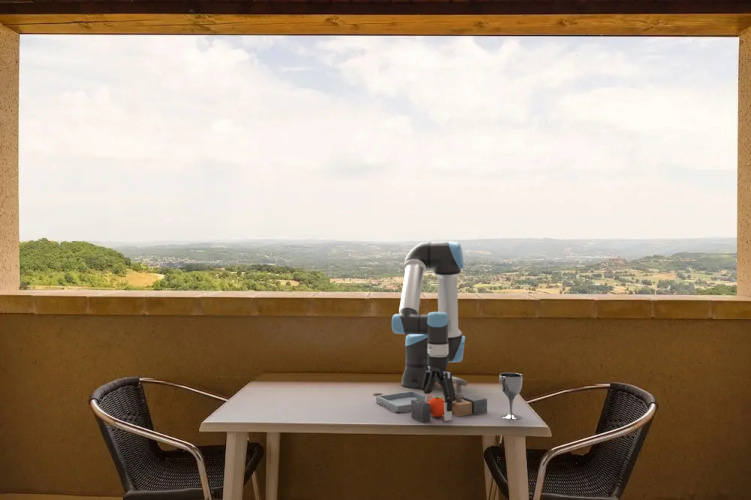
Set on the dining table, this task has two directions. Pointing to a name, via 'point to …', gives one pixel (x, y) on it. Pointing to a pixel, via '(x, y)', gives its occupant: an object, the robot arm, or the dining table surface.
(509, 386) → the wine glass
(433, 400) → the clementine
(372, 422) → the dining table surface
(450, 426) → the dining table surface
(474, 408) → the frame
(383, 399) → the tray
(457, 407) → the slider
